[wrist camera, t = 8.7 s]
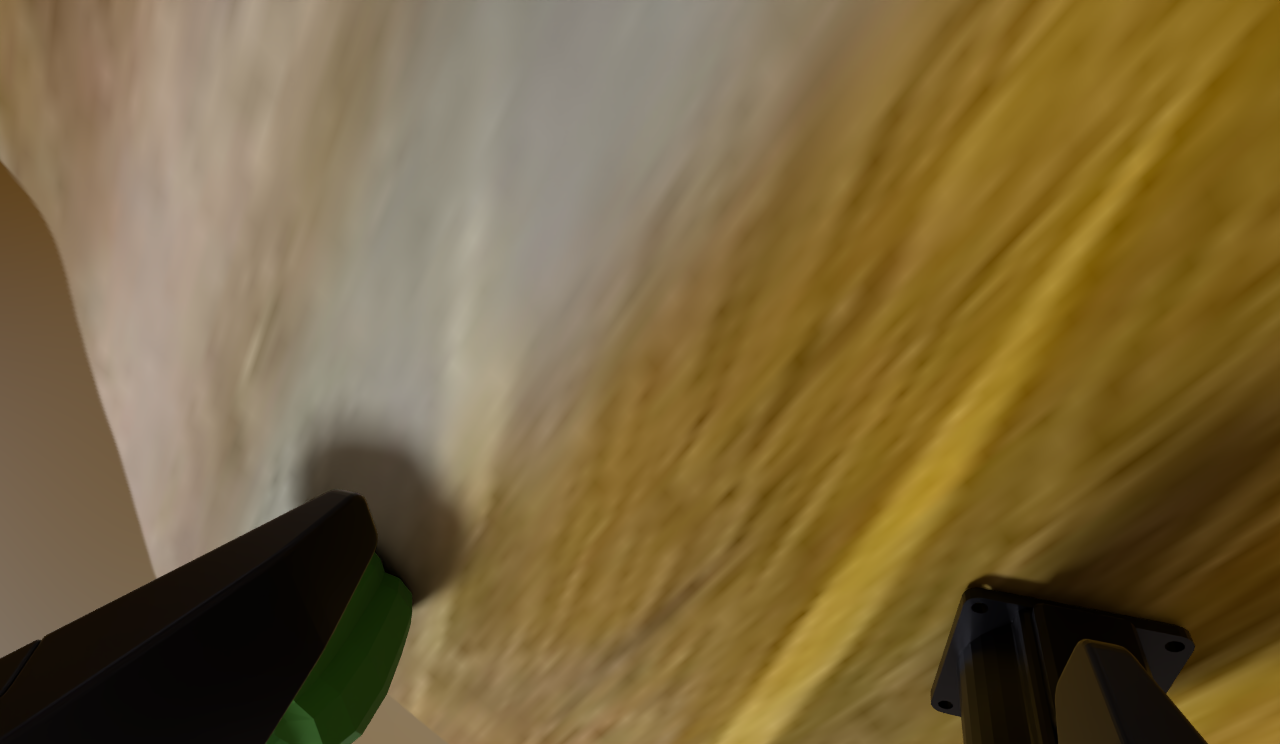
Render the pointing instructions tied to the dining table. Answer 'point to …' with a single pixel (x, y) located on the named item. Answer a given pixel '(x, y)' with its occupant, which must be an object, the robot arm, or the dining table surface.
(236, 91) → the dining table surface
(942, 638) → the dining table surface
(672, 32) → the dining table surface
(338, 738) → the bell pepper
